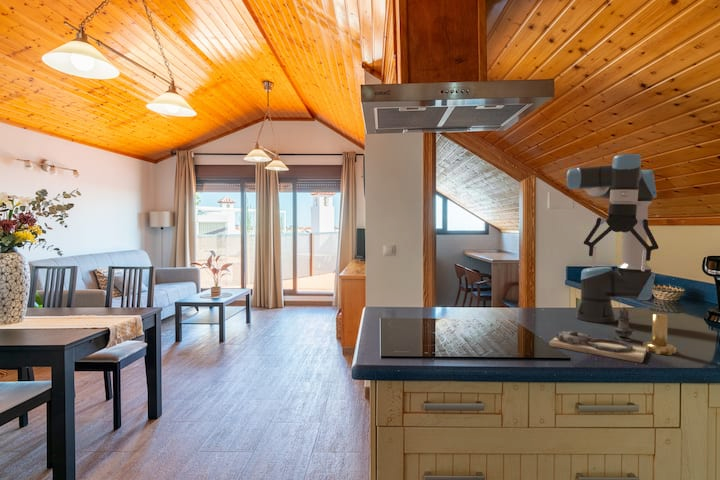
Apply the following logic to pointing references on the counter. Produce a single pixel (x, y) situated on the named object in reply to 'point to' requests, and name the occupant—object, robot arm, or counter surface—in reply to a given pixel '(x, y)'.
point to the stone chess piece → (623, 326)
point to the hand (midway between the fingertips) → (617, 268)
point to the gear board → (598, 346)
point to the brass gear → (659, 336)
